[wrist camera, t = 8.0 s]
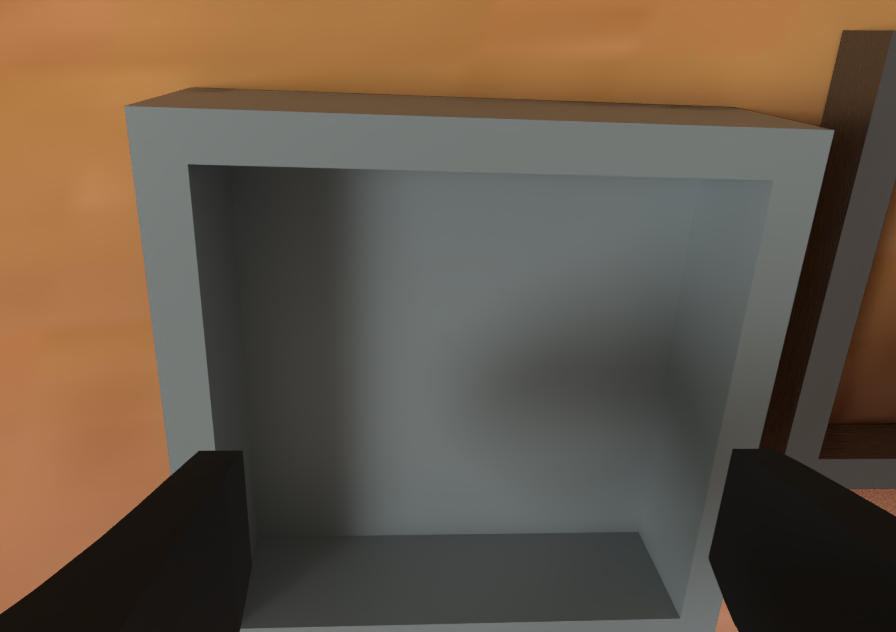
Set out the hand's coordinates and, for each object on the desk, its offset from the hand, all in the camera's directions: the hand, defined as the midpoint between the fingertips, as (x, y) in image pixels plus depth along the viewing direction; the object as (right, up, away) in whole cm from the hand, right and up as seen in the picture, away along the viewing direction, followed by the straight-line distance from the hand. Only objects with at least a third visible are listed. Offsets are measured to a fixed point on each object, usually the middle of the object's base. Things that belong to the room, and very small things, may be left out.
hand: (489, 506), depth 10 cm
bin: (0, +2, +5) cm, 6 cm away
